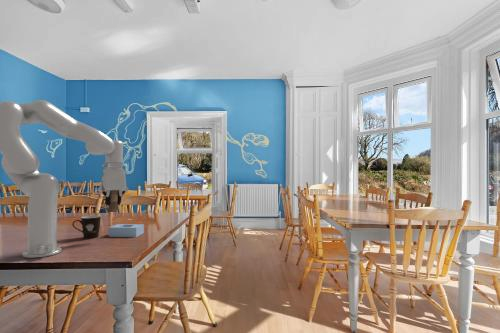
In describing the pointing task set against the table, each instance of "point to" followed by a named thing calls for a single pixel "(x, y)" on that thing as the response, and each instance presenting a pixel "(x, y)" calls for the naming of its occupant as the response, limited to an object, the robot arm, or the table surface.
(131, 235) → the socket board
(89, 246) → the table surface
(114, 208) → the peg
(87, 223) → the coffee mug
